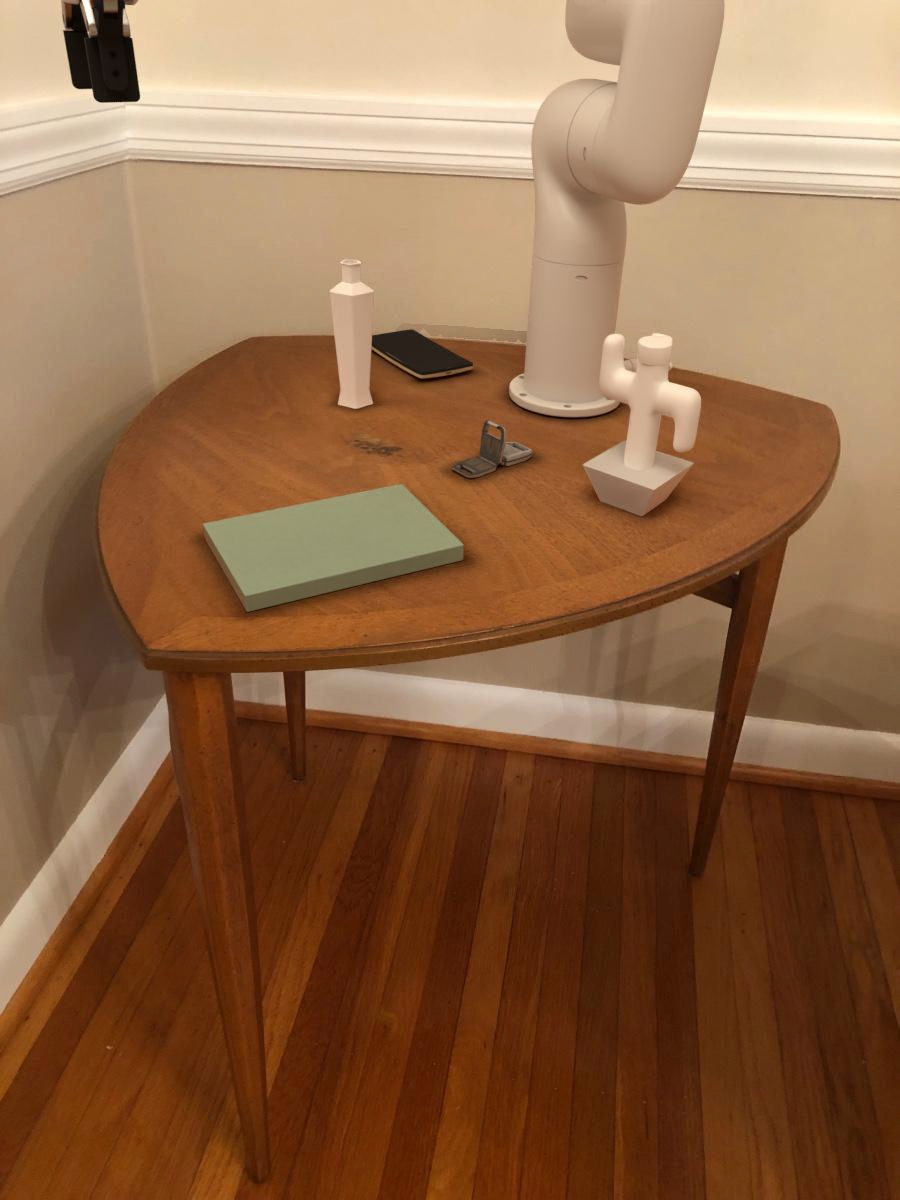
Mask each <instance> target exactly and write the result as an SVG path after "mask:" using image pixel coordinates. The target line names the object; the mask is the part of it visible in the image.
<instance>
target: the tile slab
mask: <svg viewBox="0 0 900 1200" xmlns="http://www.w3.org/2000/svg"><path fill="white" fill-rule="evenodd" d="M202 531H203V537H204V540H205V543H206V544H207V545H208V547H209V550H210V551H211V552H212V554H213V556H214V557H215V560H216V561H217V563H218V565H219V566H220V568H221V570H222V572H223V573H224V575H225V577H226V579H227V580H228V582H229V584H230V586H231V587H232V589H233V591H234V592H235V594H236V596H237V598H238V599H239V602H240V603H241V604H242V606H243V608H244V610H245V612H246V613H250V612H253V611H259V610H262V609H266V608H271V607H275V606H279V605H283V604H287V603H291V602H296V601H299V600H305V599H308V598H312V597H316V596H317V597H318V596H320V595H325V594H328V593H333V592H337V591H341V590H346V589H350V588H353V587H358V586H362V585H366V584H370V583H374V582H379V581H383V580H387V579H391V578H394V577H399V576H403V575H408V574H411V573H416V572H421V571H424V570H429V569H433V568H437V567H441V566H444V565H445V566H446V565H449V564H453V563H458V562H462V561H464V555H465V554H464V553H465V552H464V551H465V544H464V543H463V542H462V541H461V540H460V539H459V538H458V537H457V536H456V535H455V534H454V533H453V532H452V531H451V530H450V529H449V528H448V527H446V525H445V524H444V523H443V522H442V521H441V520H440V519H439V518H437V516H435V515H434V514H433V512H431V510H430V509H429V508H428V507H426V505H424V504H423V503H422V502H421V501H420V500H419V499H418V497H416V496H415V495H414V494H413V493H412V492H411V491H410V490H409V489H408V488H407V487H406V486H405V485H404V484H403V483H399V484H394V485H388V486H383V487H378V488H373V489H369V490H364V491H359V492H353V493H349V494H345V495H344V494H343V495H338V496H333V497H328V498H323V499H319V500H313V501H309V502H304V503H298V504H293V505H289V506H284V507H278V508H273V509H268V510H263V511H258V512H252V513H249V514H243V515H238V516H233V517H227V518H223V519H218V520H213V521H208V522H204V523H202Z"/></svg>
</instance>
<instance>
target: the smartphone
mask: <svg viewBox="0 0 900 1200" xmlns="http://www.w3.org/2000/svg"><path fill="white" fill-rule="evenodd" d="M371 351H374V352H375V353H377V354H378V355H380V356H381V357H382V358H384V359H385V360H387V361H388V362H390V363H392V364H394V366H397V367H399V368H400V369H402V370H403V371H405V372H407V373H409V374H410V375H413V376H415V377H417V378H418V379H431V378H432V379H433V378H439V377H444V376H451V375H455V374H460V373H463V372H467V371H470V370H473V369H474V363H473V362H472V361H471V360H468V359H466V358H464V357H463V356H460V355H458V354H457V353H455V352H453V351H452V350H450V349H448V348H447V347H444V346H442V345H440V344H439V343H437V342H435V341H434V340H432V339H431V338H429V337H427V336H425V335H423V334H422V333H420V332H419V331H417V330H415V329H414V328H413V329H403V330H396V331H389V332H385V333H379V334H372V346H371Z"/></svg>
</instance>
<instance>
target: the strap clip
mask: <svg viewBox="0 0 900 1200" xmlns="http://www.w3.org/2000/svg"><path fill="white" fill-rule="evenodd" d="M490 426H491V427H493V428H495V429H497V430H499V431H500V437H497V436H495V435H493V434H491V433H489V428H490ZM480 437H481V438H480V446H479V455H480V456H474V457H471V458H467V459H464V460H461V461H458V462H456V463H454V464H452V465H451V470H453V471H455V472H457V473H459V474H461V475H462V476H463V477H466V478H470V479H472V478H480V477H483V476H485V475H488V474H490V473H493V472H495V471H496V470H497V467H498V466H499V465H501V466H504V467H510V466H513V465H517V464H521V463H523V462H526V461H528V460H529V459H530V458H531V457H532V456H533V449H531V448H530V447H528V446H526V445H524V444H521V443H519V442H516V441H507V431H506V428H505V427H504V426H502V425H499V424H498V423H495V422H494V421H491V420H488V419H487V420H485V421H484V423H483V426H482V429H481V436H480ZM463 469H465V470H467V471H469V472H467V471H465V470H463ZM470 472H471V473H470Z"/></svg>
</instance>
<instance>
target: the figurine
mask: <svg viewBox="0 0 900 1200" xmlns="http://www.w3.org/2000/svg"><path fill="white" fill-rule="evenodd" d="M673 343H674V340H673V337H672V336H670V335H668V334H666V333H665V334H664V333H659V332H653V333H652V334H651V335H646V336H642V337H640V338H639V339H638V341H637V349H636V358H637V369H636V372H632V371H628V370H626V369H625V367H624V360H625V351H626V338H625V336H624V335H623V334H621V333H615V334H611V335H609V336H607V337H606V339H605V341H604V344H603V351H602V359H601V368H600V377H599V387H600V391H601V393H602V395H603V396H605V397H606V398H608V399H611V400H615V401H618V402H620V404H621V403H622V404H624V405H628V406H629V407H628V408H629V409H630V411H629V420H628V427H627V435H626V439H625V440H622V441H620V442H619V443H617V444H615V445H613V446H611V447H610V448H608V449H607V450H605V451H602V452H601V453H600V454H598V455H596V456H595V457H593V458H591V459H590V460H588V461H586V462H584V463H583V464H581V466H582V467H583V470H584V472H585V474H586V475H587V478H588V480H589V482H590V484H591V486H592V488H593V490H594V492H595V494H596V497H597V498H598V500H599V502H601V503H604V504H607V505H609V506H612V507H615V508H617V509H620V510H623V511H626V512H628V513H631V514H634V515H637V516H639V517H644V516H645V515H646V514H648V513H650V512H651V511H652V510H653V509H655V508H656V507H658V506H659V505H661V504H662V503H663V502H665V501H666V500H667V499H668V498H669V497H670V495H671V494H672V492H673V491H674V489H675V488H677V486H678V485H679V483H680V482H681V481H682V480H683V478H684V477H685V476H686V474H688V472H689V470H690V469H691V468H692V467H693V466H694V464H695V462H693V461H690V460H686V459H683V458H680V457H678V456H674V455H671V454H668V453H664V452H662V451H658V450H657V446H658V440H659V433H660V427H661V421H662V416H664V417H669V418H672V420H673V422H674V432H673V433H674V434H673V440H672V448H673V449H674V451H676V452H677V453H687V452H689V451H691V450H692V449H693V448H694V446H695V444H696V438H697V434H698V429H699V423H700V422H699V421H700V416H701V410H702V397H701V395H700V393H699V391H698V390H696V389H695V388H692V387H689V386H685V385H682V384H679V383H675V382H671V381H669V371H671V370H672V369H673V362H671V361H672V355H673V354H672V352H673V345H674V344H673Z"/></svg>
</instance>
